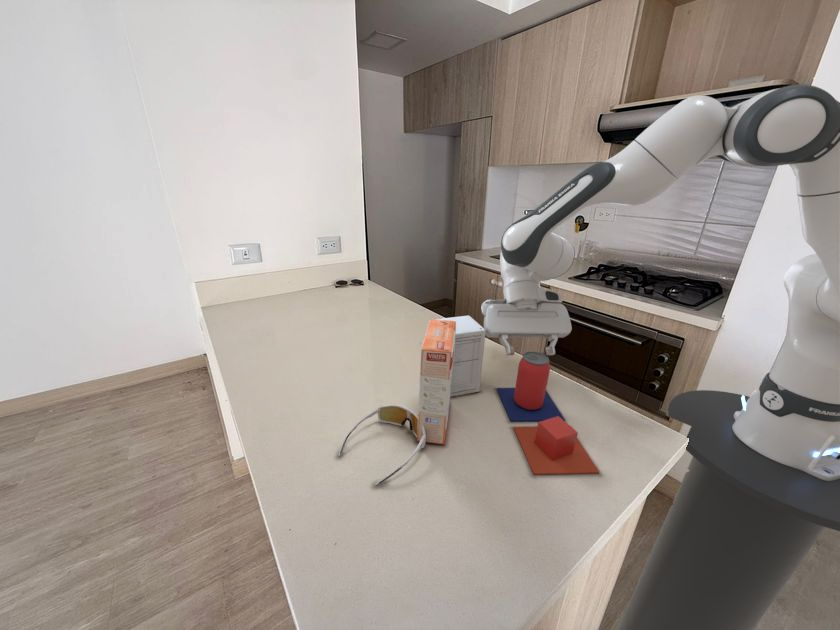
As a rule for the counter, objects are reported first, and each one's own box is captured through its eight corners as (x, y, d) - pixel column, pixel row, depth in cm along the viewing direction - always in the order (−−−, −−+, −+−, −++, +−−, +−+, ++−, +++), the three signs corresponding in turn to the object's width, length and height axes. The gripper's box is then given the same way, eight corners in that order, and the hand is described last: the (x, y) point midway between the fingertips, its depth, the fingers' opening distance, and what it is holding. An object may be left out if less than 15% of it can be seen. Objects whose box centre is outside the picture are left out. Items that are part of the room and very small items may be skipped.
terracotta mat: (568, 427, 72) (569, 426, 72) (599, 473, 61) (599, 472, 61) (513, 428, 72) (513, 426, 71) (533, 474, 60) (533, 473, 60)
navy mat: (543, 389, 85) (544, 387, 85) (564, 421, 74) (565, 419, 74) (496, 389, 84) (496, 387, 84) (510, 421, 73) (510, 420, 73)
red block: (553, 435, 69) (558, 415, 67) (572, 453, 65) (578, 432, 63) (534, 442, 67) (538, 421, 65) (552, 460, 63) (557, 439, 61)
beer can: (514, 391, 83) (521, 348, 78) (542, 397, 81) (551, 353, 77) (512, 408, 77) (519, 361, 72) (543, 414, 75) (552, 367, 71)
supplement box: (464, 372, 91) (470, 314, 85) (480, 392, 83) (487, 329, 77) (431, 377, 88) (434, 318, 82) (444, 398, 80) (448, 334, 74)
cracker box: (446, 446, 66) (453, 351, 58) (416, 442, 67) (418, 348, 59) (451, 402, 79) (457, 319, 71) (425, 399, 80) (428, 317, 72)
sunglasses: (439, 441, 67) (438, 423, 65) (386, 500, 57) (382, 481, 55) (387, 411, 75) (384, 394, 73) (333, 458, 65) (328, 439, 63)
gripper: (483, 293, 80) (489, 350, 74) (568, 294, 81) (580, 350, 75) (477, 304, 85) (482, 358, 80) (557, 305, 87) (567, 358, 81)
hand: (530, 354), depth 78 cm, fingers open, 8 cm apart
